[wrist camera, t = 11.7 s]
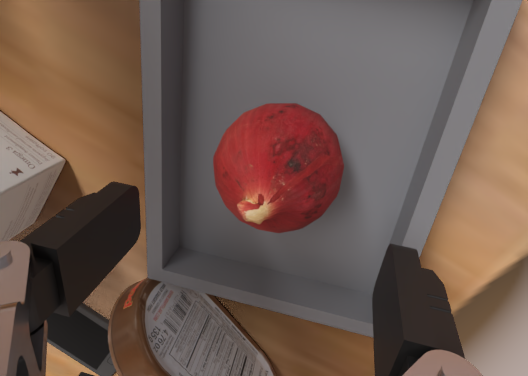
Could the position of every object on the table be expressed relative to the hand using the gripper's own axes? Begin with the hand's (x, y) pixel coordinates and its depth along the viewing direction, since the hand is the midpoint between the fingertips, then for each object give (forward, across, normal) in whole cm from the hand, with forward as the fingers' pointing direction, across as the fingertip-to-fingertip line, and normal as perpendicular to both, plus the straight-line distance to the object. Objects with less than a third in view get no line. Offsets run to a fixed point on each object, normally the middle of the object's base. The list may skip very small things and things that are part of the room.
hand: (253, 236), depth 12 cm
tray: (+11, 0, 0) cm, 11 cm away
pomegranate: (+10, 0, 0) cm, 10 cm away
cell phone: (+11, +18, +22) cm, 30 cm away
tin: (+11, +3, +16) cm, 20 cm away
